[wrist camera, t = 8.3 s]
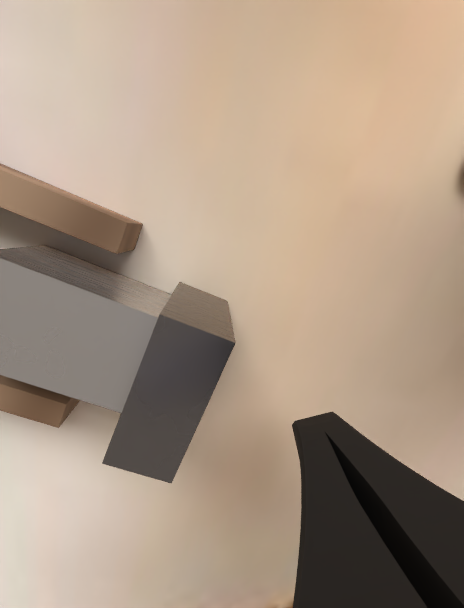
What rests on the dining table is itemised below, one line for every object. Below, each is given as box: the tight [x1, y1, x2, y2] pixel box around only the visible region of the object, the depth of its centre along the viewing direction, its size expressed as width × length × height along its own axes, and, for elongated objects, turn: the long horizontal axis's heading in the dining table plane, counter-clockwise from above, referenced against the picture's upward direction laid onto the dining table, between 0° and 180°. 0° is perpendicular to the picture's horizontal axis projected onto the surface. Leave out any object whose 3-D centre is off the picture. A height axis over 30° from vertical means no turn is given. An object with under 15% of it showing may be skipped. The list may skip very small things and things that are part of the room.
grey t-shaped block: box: [0, 245, 235, 483], centre depth 9 cm, size 7×5×4 cm, turn 67°
